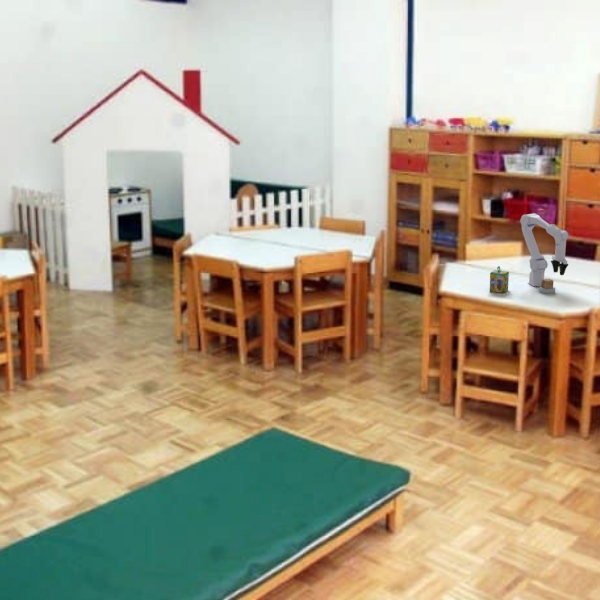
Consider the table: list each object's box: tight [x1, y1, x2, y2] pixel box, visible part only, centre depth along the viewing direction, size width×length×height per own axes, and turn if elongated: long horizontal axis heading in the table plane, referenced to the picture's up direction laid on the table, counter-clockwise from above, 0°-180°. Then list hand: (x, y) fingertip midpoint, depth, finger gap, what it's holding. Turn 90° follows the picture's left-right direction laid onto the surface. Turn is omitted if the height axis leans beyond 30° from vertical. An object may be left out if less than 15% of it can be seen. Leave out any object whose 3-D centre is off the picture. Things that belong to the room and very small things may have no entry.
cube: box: [540, 278, 555, 289], centre depth 518 cm, size 5×5×5 cm
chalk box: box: [489, 265, 510, 294], centre depth 522 cm, size 9×9×15 cm
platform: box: [538, 286, 556, 295], centre depth 519 cm, size 9×9×3 cm
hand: (558, 273), depth 523 cm, fingers open, 7 cm apart
